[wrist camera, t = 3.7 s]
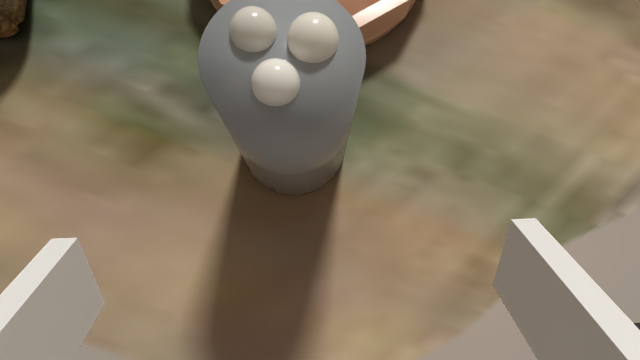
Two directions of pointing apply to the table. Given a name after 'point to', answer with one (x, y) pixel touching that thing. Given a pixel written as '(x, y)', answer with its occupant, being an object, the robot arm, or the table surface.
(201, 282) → the table surface
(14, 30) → the stone weight
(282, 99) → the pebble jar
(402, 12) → the terracotta bowl
